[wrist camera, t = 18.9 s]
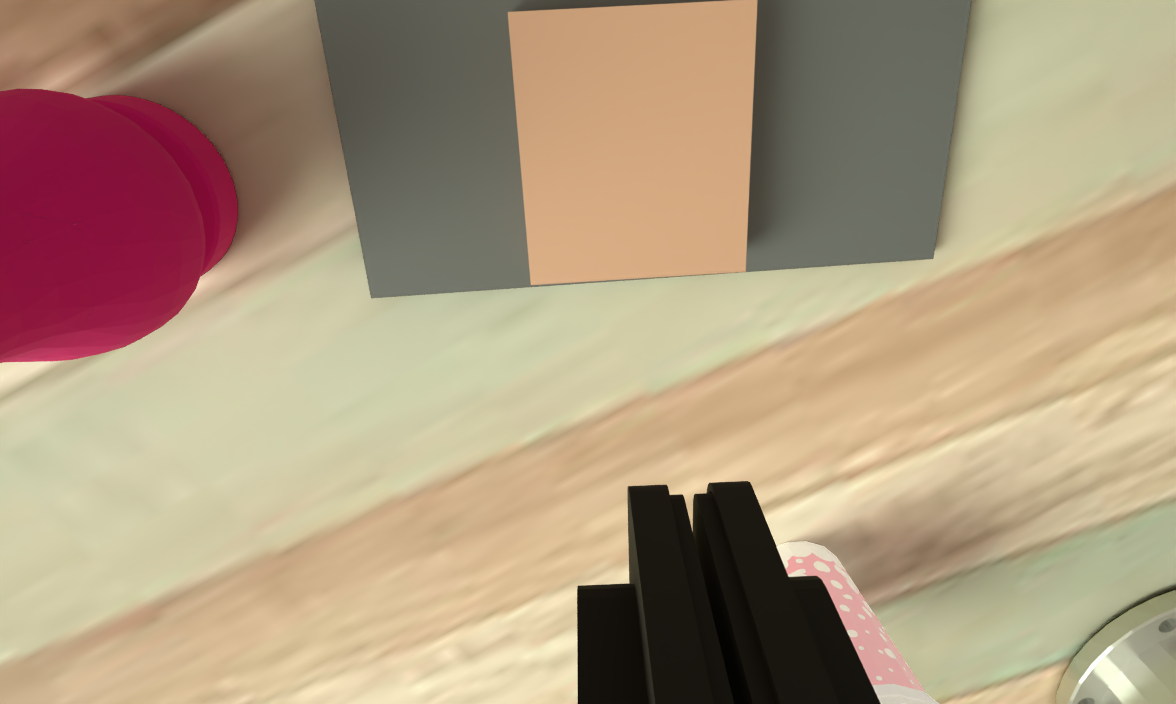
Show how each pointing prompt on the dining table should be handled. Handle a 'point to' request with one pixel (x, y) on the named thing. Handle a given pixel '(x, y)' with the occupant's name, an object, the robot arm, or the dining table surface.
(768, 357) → the dining table surface
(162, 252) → the pepper mill
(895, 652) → the beverage cup
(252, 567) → the dining table surface
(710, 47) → the tile
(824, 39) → the mat
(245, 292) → the dining table surface
